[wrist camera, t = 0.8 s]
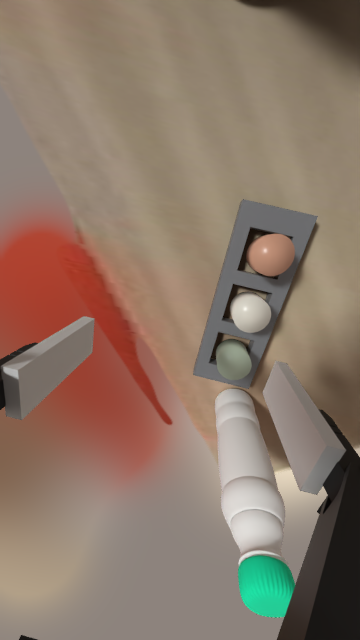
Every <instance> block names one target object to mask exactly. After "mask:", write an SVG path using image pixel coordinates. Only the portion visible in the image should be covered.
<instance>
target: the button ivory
mask: <svg viewBox="0 0 360 640" xmlns="http://www.w3.org/2000/svg"><path fill="white" fill-rule="evenodd" d="M230 313H231V315H232V318H233V321H234V323H235V325H236V326H237V327H238V328H239V329H240V330H242V331H244V332H247V333H254V332H258V331H260V330H262V329H264V328H265V327H266V326H267V325H268V323H269V321H270V319H271V309H270V307H269V305H268V304H267V303H266V302H265V301H264V300H263V299H262V298H261V297H260V296H259V295H257V294H256V293H254V292H242V293H240V294H238V295H236V296H235V297H234V298H233V300H232V301H231V304H230Z"/></svg>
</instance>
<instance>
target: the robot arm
mask: <svg viewBox="0 0 360 640" xmlns="http://www.w3.org/2000/svg"><path fill="white" fill-rule="evenodd" d="M93 332H94V318H89V317H85V316H84V317H82V318H80V319H79V320H77V321H75V322H74V323H72V324H70V325H69V326H67V327H65V328H64V329H62V330H60V331H58V332H57V333H55V334H53V335H52V336H50V337H48V338H47V339H45V340H43V341H42V342H40V343H32V344H29V345H26V346H23V347H22V348H20V349H18V350H17V351H14V352H13V353H11V354H10V355H7V356H6V357H4V358H2V359H0V410H1V409H2V408H3V407H5V411H6V416H8V417H12V418H15V419H20V420H22V419H23V418H24V417H25V416H26V415H28V414H29V412H31V411H32V410H33V409H34V408H35V407H36V406H37V405H38V404H39V403H40V402H41V401H42V400H43V399H44V398H45V397H46V396H47V395H48V394H49V393H50V392H51V391H53V390H54V389H55V388H56V387H57V386H58V385H59V384H60V383H61V382H62V381H63V380H64V379H65V378H66V377H67V376H68V375H69V374H70V373H71V372H72V371H73V370H74V369H75V368H76V367H78V366H79V365H80V364H81V363H82V362H83V361H84V360H85V359H86V358H87V357H88V356H89V355H90V354H91V353H92V347H93ZM263 396H264V398H265V401H266V403H267V406H268V409H269V411H270V414H271V417H272V419H273V422H274V424H275V427H276V430H277V432H278V435H279V438H280V440H281V443H282V445H283V448H284V451H285V453H286V456H287V458H288V461H289V464H290V466H291V469H292V471H293V474H294V477H295V479H296V482H297V485H298V487H299V489H300V491H304V492H308V493H312V494H316V495H317V494H318V492H319V491H320V490H321V488H322V486H324V488H325V490H326V492H327V494H328V496H327V497H326V499H325V500H324V502H323V503H322V505H321V506H320V508H319V509H318V511H317V512H318V513H319V514H320V515H319V518H318V520H317V524H316V526H315V529H314V533H313V535H312V538H311V541H310V544H309V547H308V550H307V553H306V556H305V559H304V561H303V564H302V567H301V570H300V573H299V576H298V579H297V582H296V585H295V588H294V591H293V594H292V597H291V599H290V602H289V605H288V608H287V611H286V614H285V617H284V620H283V623H282V626H281V629H280V632H279V635H278V638H277V640H360V457H359V456H358V454H357V453H356V451H355V450H354V449H353V447H352V446H351V445H350V443H349V442H348V440H347V439H346V438H345V436H344V435H343V433H342V432H341V431H340V429H339V428H338V427H337V425H336V424H335V422H334V421H333V420H332V418H331V417H329V416H328V415H327V414H326V413H325V412H324V411H323V410H319V409H318V408H317V407H316V405H315V404H314V402H313V401H312V400H311V398H310V397H309V395H308V394H307V392H306V391H305V389H304V388H303V386H302V385H301V383H300V382H299V380H298V379H297V377H296V376H295V375H294V373H293V372H292V370H291V369H290V367H289V366H288V364H287V363H283V362H279V361H275V364H274V366H273V369H272V371H271V373H270V376H269V378H268V381H267V383H266V386H265V388H264V390H263ZM19 640H37V639H33V638H29V637H26V636H23V635H21V637H20V639H19Z"/></svg>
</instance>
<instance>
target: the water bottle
mask: <svg viewBox="0 0 360 640" xmlns="http://www.w3.org/2000/svg"><path fill="white" fill-rule="evenodd" d="M215 412H216V428H217V433H218V460H219V473H220V481H221V488H222V495H221V507H222V511H223V515H224V517H225V519H226V522H227V524H228V525H229V528H230V529H231V532H232V535H233V538H234V540H235V541H236V543H237V545H238V546H239V548H240V551H241V557H240V559H239V563H238V565H239V569H238V578H239V588H240V593H241V597H242V600H243V602H244V604H245V605H246V606H247V607H248V608H249V609H250V610H252V611H253V612H255V613H257V614H259V615H263V616H267V617H275V618H276V617H279V618H280V617H284V616H285V614H286V611H287V608H288V605H289V602H290V599H291V597H292V594H293V591H294V588H295V583H294V580H293V577H292V573H291V571H290V569H289V567H288V563H287V561H286V560H285V559H284V558H283V557H282V554H281V546H282V542H283V528H284V522H285V506H284V502H283V499H282V496H281V494H280V492H279V491H278V488H277V483H276V479H275V475H274V471H273V467H272V463H271V460H270V457H269V454H268V450H267V447H266V444H265V441H264V439H263V436H262V434H261V431H260V425H259V421H258V418H257V416H256V414H255V408H254V404H253V401H252V399H251V397H250V396H249V395H248V394H247V393H246V392H245V391H243V390H240V389H227V390H224V391H222V392H221V393H220V394H219V395H218V396H217V398H216V400H215Z"/></svg>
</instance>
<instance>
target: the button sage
mask: <svg viewBox="0 0 360 640" xmlns="http://www.w3.org/2000/svg"><path fill="white" fill-rule="evenodd" d="M216 361H217V369H218V371H219V373H220V374H221V375H222V376H223V377H224V378H226V379H229V380H239V379H242V378H244V377H245V376H247V375H248V374H249V372H250V370H251V367H252V363H251V360H250V357H249V355H248V352H247V350H246V347H245V346H244V344H243V343H242V342H240V341H238V340H235V339H228V340H225V341H223V342H221V343H220V344H219V345H218V347H217V349H216Z"/></svg>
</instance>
